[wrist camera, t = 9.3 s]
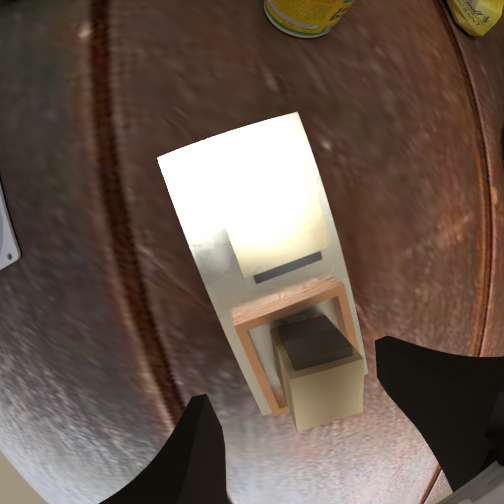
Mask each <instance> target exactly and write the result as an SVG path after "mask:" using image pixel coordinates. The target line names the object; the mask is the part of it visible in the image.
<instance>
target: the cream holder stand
mask: <svg viewBox="0 0 504 504" xmlns="http://www.w3.org/2000/svg"><path fill="white" fill-rule="evenodd" d="M158 161H159V164H160V167H161V170H162V173H163V176H164V179H165V181H166V184H167V187H168V190H169V193H170V196H171V198H172V201H173V204H174V207H175V209H176V212H177V215H178V218H179V220H180V223H181V226H182V228H183V231H184V234H185V236H186V239H187V242H188V244H189V247H190V249H191V252H192V255H193V257H194V260H195V262H196V265H197V267H198V270H199V272H200V275H201V277H202V280H203V282H204V285H205V287H206V290H207V292H208V294H209V297H210V299H211V302H212V304H213V306H214V309H215V311H216V314H217V316H218V318H219V321H220V323H221V325H222V328H223V330H224V332H225V335H226V337H227V339H228V341H229V344H230V346H231V348H232V350H233V353H234V355H235V357H236V359H237V362H238V364H239V366H240V368H241V370H242V372H243V375H244V377H245V379H246V381H247V383H248V385H249V388H250V390H251V392H252V394H253V396H254V398H255V400H256V402H257V404H258V406H259V409H260V411H261V413H262V415H263V416H264V415H267V414H270V413H272V414H273V416H274V417H276V416H279V415H281V414H284V413H287V412H290V410H289V407H288V405H287V402H286V399H285V396H284V393H283V390H282V388H281V385H280V382H279V379H278V376H277V370H276V364H275V358H274V352H273V346H272V340H271V334H270V329H272V328H277V326H280V325H284V324H289V323H293V322H297V321H302V320H306V319H310V318H314V317H318V316H322V315H326V316H327V317H328V318H329V319H330V320H331V321H332V323H333V324H334V325H335V326H336V327H337V328H338V329H339V331H340V332H341V333H342V334H343V335H344V336H345V337H346V338H347V340H348V341H349V342H350V343H351V344H352V345H353V346H354V347H355V349H356V350H357V351H358V352H359V353H360V354H361V355H362V357H363V358H364V375H366V374H368V369H367V363H366V358H365V352H364V347H363V342H362V337H361V332H360V327H359V322H358V317H357V313H356V308H355V303H354V299H353V295H352V290H351V286H350V282H349V278H348V274H347V270H346V266H345V262H344V258H343V254H342V250H341V246H340V243H339V239H338V235H337V232H336V228H335V225H334V221H333V218H332V214H331V211H330V207H329V204H328V201H327V197H326V194H325V191H324V188H323V185H322V181H321V178H320V175H319V172H318V169H317V166H316V163H315V160H314V157H313V154H312V151H311V148H310V145H309V143H308V140H307V137H306V134H305V131H304V129H303V126H302V123H301V120H300V118H299V115H298V112H296V113H292V114H288V115H284V116H280V117H277V118H273V119H269V120H266V121H262V122H259V123H255V124H252V125H249V126H245V127H242V128H239V129H236V130H233V131H230V132H227V133H223V134H220V135H217V136H215V137H212V138H209V139H206V140H203V141H200V142H197V143H195V144H192V145H189V146H186V147H184V148H181V149H179V150H176V151H173V152H171V153H168V154H166V155H163V156H161V157H158ZM364 380H365V379H364Z"/></svg>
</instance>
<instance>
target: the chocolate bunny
mask: <svg viewBox="0 0 504 504" xmlns="http://www.w3.org/2000/svg"><path fill="white" fill-rule="evenodd" d="M446 1H447V3H448V5H449V8H450V10H451V13H452V15H453V17H454V20H455V22H456V23H457V24H458V25H459V26H460V27H461V28H463V29H464V30H465V31H466V32H467V33H468V34H470V35H472V36H483V35H484V34H485V33H486V32H487V31H488V30H489V29H490V28H491V27H492V26H493V25H494V24H495V23H496V22H497V21H498V19H499V18H500V17H501V14H502V8H503V5H504V0H446Z"/></svg>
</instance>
